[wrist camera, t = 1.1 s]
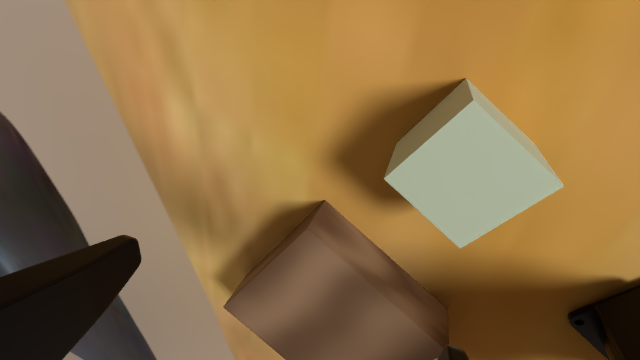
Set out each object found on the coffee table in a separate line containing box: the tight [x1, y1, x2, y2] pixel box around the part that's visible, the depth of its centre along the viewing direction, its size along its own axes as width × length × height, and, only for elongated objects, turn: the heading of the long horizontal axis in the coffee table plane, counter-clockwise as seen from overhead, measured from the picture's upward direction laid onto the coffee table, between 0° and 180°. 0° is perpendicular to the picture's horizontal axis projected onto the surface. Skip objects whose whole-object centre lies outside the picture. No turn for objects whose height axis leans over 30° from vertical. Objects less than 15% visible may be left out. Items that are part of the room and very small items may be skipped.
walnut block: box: [224, 200, 449, 360], centre depth 25 cm, size 12×12×4 cm
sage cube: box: [384, 79, 564, 249], centre depth 16 cm, size 5×5×5 cm
